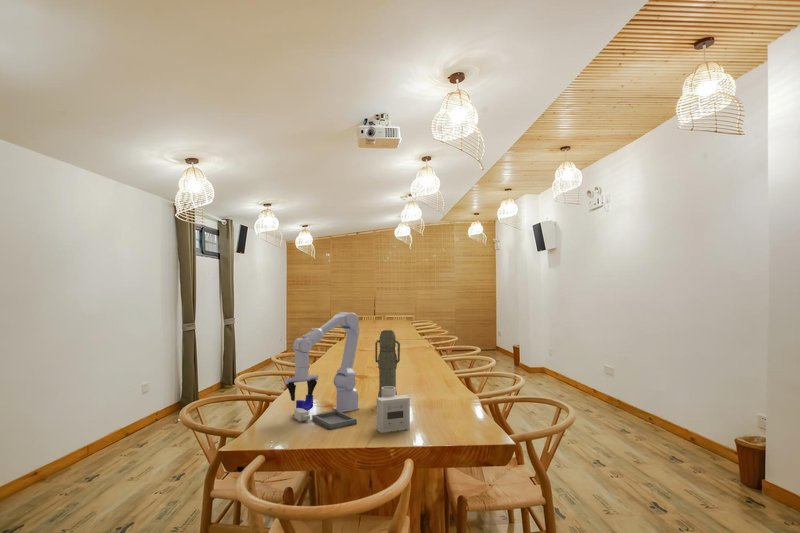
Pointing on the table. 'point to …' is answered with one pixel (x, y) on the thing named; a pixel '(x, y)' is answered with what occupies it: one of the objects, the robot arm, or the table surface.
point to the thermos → (387, 359)
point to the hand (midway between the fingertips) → (301, 399)
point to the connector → (301, 414)
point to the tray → (334, 419)
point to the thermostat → (392, 411)
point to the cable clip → (305, 403)
